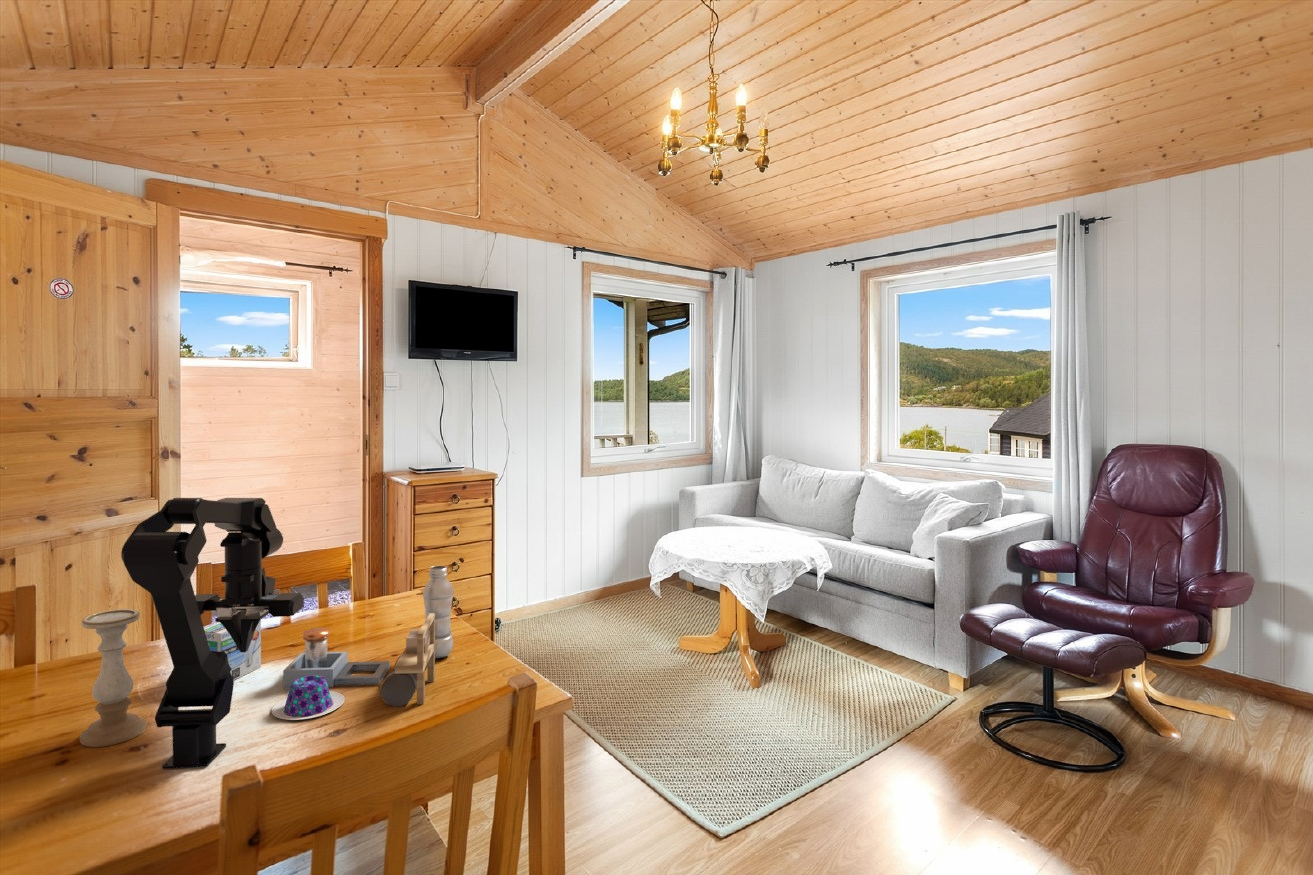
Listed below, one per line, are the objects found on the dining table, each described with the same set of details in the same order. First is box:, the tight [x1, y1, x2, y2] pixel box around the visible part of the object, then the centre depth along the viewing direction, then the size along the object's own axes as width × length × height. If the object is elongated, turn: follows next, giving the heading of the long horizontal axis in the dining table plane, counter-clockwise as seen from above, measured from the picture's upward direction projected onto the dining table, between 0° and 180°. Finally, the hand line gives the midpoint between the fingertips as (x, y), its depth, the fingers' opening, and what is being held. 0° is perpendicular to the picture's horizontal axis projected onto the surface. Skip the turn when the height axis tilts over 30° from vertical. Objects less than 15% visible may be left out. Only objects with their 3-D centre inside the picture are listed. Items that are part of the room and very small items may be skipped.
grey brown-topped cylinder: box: [302, 627, 330, 668], centre depth 138 cm, size 5×5×9 cm
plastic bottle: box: [422, 565, 454, 660], centre depth 151 cm, size 6×7×20 cm
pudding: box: [271, 675, 345, 721], centre depth 126 cm, size 12×12×5 cm
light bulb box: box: [203, 619, 262, 681], centre depth 139 cm, size 11×7×11 cm, turn 169°
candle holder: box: [79, 608, 148, 748], centre depth 114 cm, size 9×9×20 cm
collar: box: [333, 660, 391, 687], centre depth 140 cm, size 8×8×2 cm
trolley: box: [379, 613, 436, 707], centre depth 133 cm, size 12×8×14 cm, turn 8°
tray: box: [282, 651, 349, 690], centre depth 138 cm, size 9×9×4 cm
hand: (244, 651), depth 124 cm, fingers closed
